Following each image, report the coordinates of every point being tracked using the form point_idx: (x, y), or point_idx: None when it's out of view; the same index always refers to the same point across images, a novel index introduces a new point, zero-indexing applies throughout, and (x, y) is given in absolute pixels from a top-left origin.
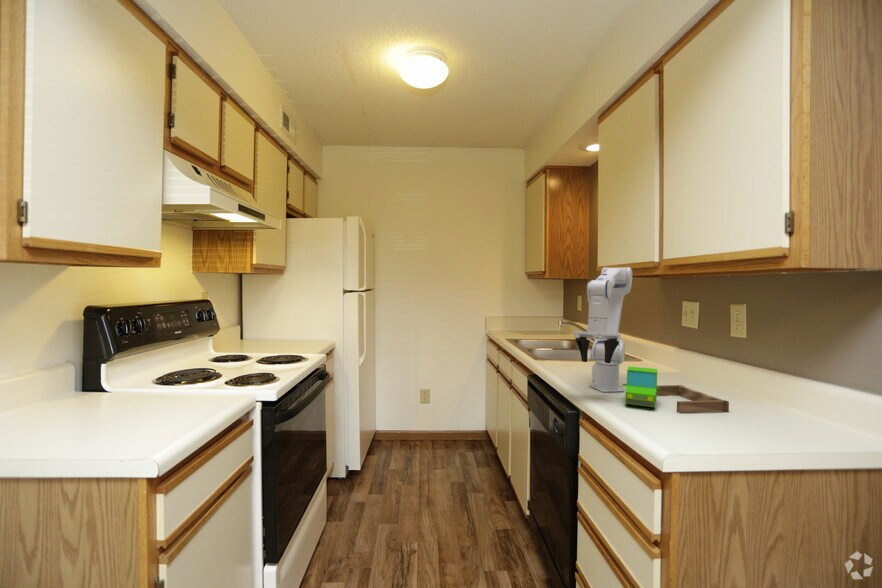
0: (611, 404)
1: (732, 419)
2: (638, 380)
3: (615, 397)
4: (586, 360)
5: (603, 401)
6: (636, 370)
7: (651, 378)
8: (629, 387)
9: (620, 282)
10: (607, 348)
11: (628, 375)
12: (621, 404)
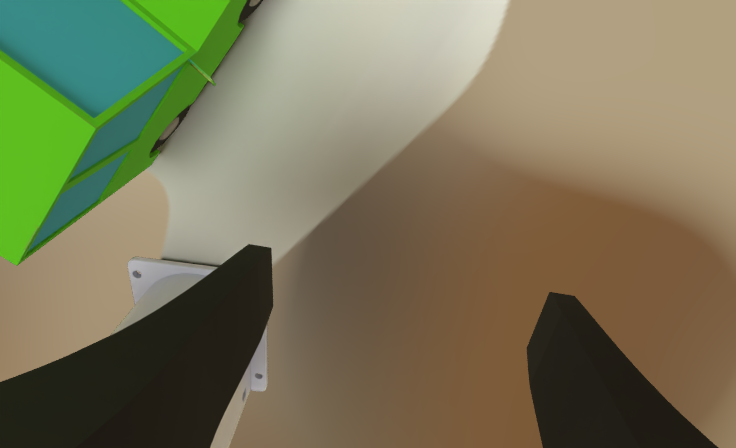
0: (366, 21)
1: None
2: (64, 6)
3: (243, 168)
4: (566, 302)
5: (375, 102)
6: (2, 60)
7: None
8: (193, 1)
9: None
10: (187, 431)
11: (122, 92)
12: (296, 6)
